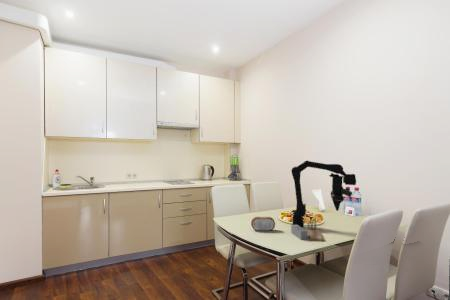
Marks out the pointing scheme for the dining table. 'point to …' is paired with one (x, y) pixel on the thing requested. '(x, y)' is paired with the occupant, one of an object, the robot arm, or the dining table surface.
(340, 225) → the dining table surface
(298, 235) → the plug
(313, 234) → the header board
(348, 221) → the dining table surface
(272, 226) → the tin
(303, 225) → the robot arm
